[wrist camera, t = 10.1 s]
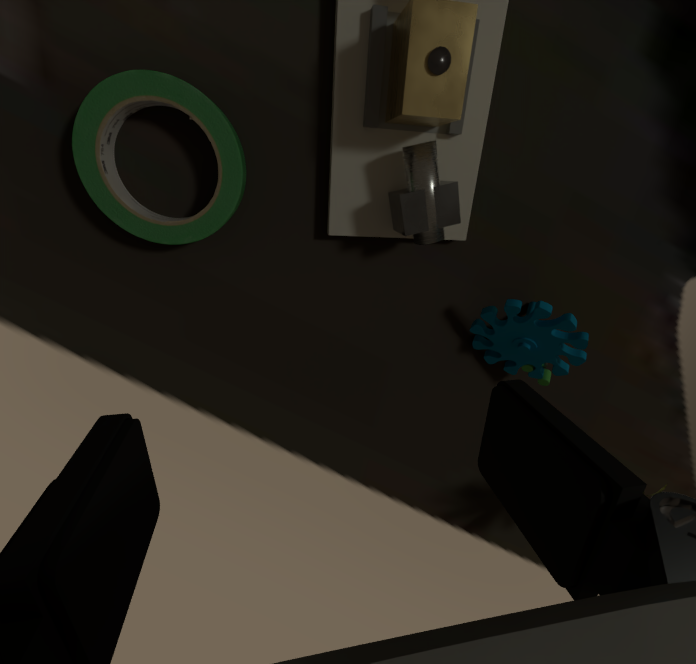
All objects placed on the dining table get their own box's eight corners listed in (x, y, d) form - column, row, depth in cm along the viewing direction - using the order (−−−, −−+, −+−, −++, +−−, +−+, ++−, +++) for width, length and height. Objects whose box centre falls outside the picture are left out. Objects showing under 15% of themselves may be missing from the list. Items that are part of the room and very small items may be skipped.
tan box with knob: (393, 23, 26) (415, -7, 21) (448, 30, 26) (480, 2, 22) (385, 122, 28) (403, 114, 24) (435, 127, 28) (462, 119, 24)
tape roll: (188, 267, 31) (180, 275, 29) (58, 165, 27) (36, 164, 25) (276, 165, 29) (275, 165, 27) (150, 38, 25) (135, 24, 23)
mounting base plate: (327, 232, 32) (329, 236, 30) (341, -153, 23) (346, -182, 21) (459, 238, 34) (469, 242, 32) (520, -116, 25) (539, -138, 23)
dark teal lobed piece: (453, 313, 35) (578, 305, 28) (470, 273, 38) (585, 257, 31) (487, 386, 40) (597, 394, 34) (499, 346, 44) (602, 346, 37)
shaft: (382, 151, 29) (393, 149, 26) (436, 139, 29) (455, 135, 26) (395, 241, 32) (407, 249, 28) (444, 230, 32) (462, 236, 29)
